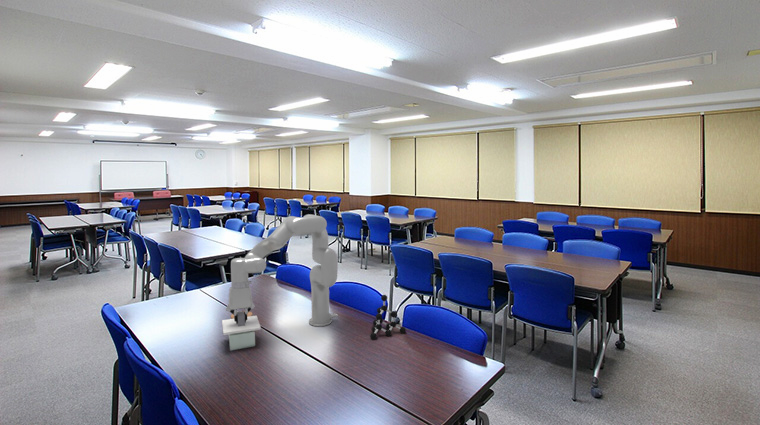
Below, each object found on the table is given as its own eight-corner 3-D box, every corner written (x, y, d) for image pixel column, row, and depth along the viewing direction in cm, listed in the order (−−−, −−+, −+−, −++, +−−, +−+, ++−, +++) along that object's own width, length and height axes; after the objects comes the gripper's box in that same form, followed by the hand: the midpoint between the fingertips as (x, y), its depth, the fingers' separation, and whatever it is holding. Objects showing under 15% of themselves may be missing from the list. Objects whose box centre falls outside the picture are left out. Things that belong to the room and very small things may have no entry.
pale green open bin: (252, 336, 186) (252, 323, 185) (255, 346, 176) (254, 331, 175) (228, 340, 181) (228, 326, 181) (230, 350, 171) (229, 335, 171)
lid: (256, 317, 188) (256, 305, 188) (260, 329, 174) (260, 317, 173) (222, 322, 181) (221, 310, 181) (223, 335, 167) (223, 322, 166)
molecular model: (375, 324, 204) (375, 288, 202) (406, 332, 193) (407, 295, 191) (355, 335, 189) (355, 297, 187) (388, 345, 178) (389, 305, 176)
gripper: (257, 280, 182) (257, 316, 184) (220, 284, 176) (222, 322, 177) (259, 284, 176) (259, 322, 177) (221, 288, 169) (222, 327, 171)
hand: (240, 321), depth 177 cm, fingers closed on lid, 3 cm apart
